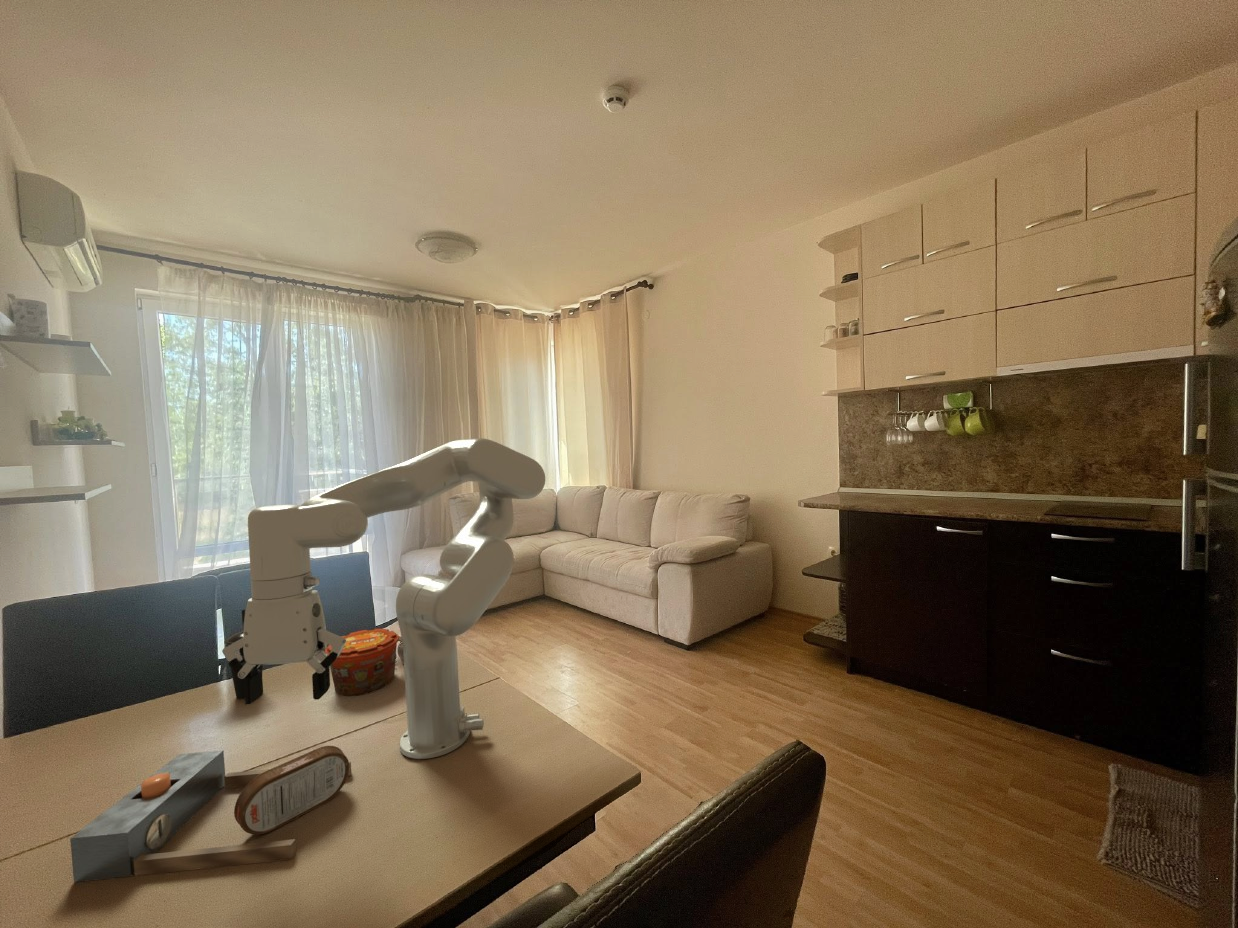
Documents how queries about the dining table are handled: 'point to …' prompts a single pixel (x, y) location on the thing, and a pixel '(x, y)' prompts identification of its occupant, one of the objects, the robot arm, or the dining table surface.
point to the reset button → (155, 785)
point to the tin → (291, 790)
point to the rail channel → (219, 854)
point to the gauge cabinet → (146, 818)
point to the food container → (365, 662)
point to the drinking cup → (236, 680)
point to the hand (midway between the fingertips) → (287, 697)
